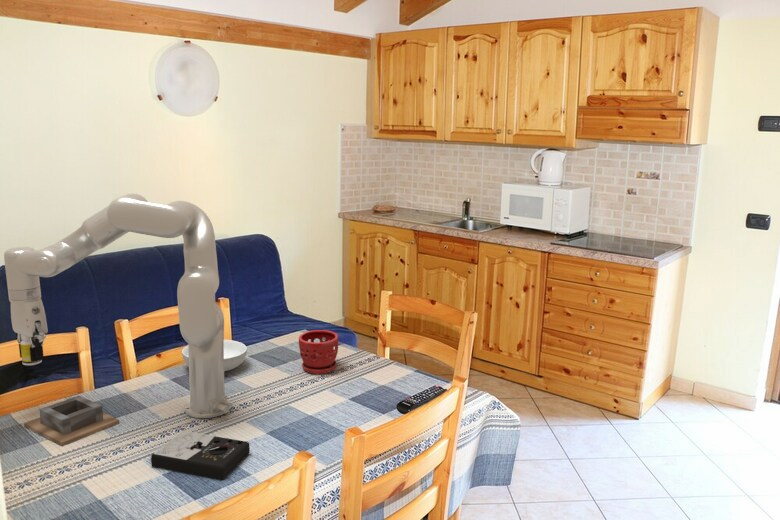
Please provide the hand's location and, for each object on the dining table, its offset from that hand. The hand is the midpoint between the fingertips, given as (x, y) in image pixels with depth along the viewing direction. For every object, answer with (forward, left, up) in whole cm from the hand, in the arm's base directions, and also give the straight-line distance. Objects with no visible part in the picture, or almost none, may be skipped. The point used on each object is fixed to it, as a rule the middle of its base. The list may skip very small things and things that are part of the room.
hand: (31, 357), depth 174 cm
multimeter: (-57, -10, -17) cm, 60 cm away
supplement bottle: (0, 0, -2) cm, 2 cm away
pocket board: (-15, -2, -16) cm, 22 cm away
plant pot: (-41, -73, -16) cm, 85 cm away
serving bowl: (-13, -53, -16) cm, 57 cm away
